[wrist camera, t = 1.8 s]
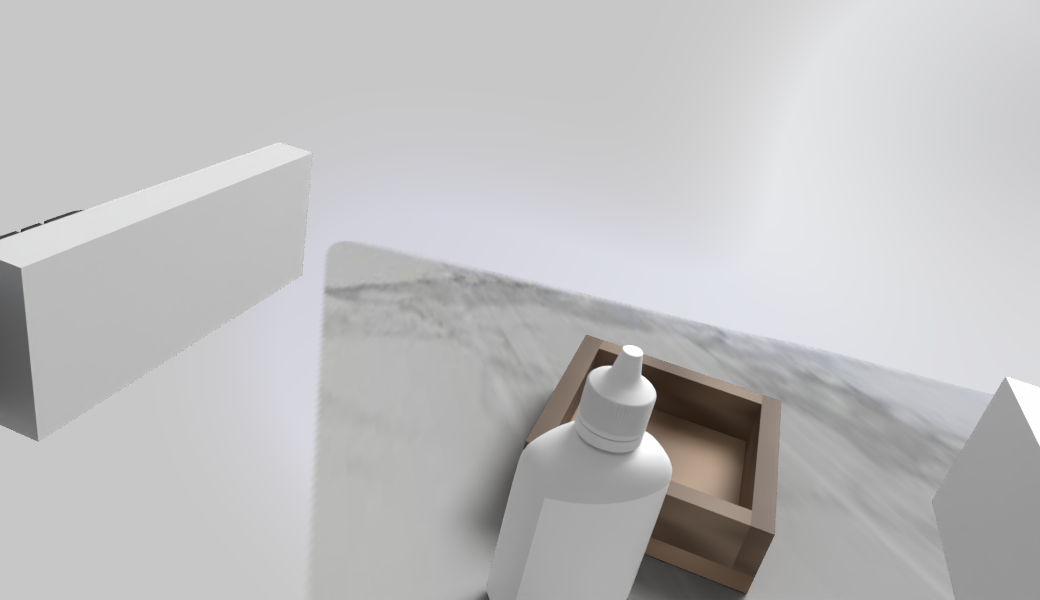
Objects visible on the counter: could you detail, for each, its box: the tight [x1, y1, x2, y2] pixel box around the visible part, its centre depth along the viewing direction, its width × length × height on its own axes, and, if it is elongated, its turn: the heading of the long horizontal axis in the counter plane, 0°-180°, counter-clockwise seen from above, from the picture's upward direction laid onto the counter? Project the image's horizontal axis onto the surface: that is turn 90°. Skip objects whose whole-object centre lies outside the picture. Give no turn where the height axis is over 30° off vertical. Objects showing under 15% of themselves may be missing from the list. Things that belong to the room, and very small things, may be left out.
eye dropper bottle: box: [487, 345, 672, 600], centre depth 28 cm, size 4×6×12 cm
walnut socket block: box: [523, 335, 781, 594], centre depth 39 cm, size 11×11×4 cm
